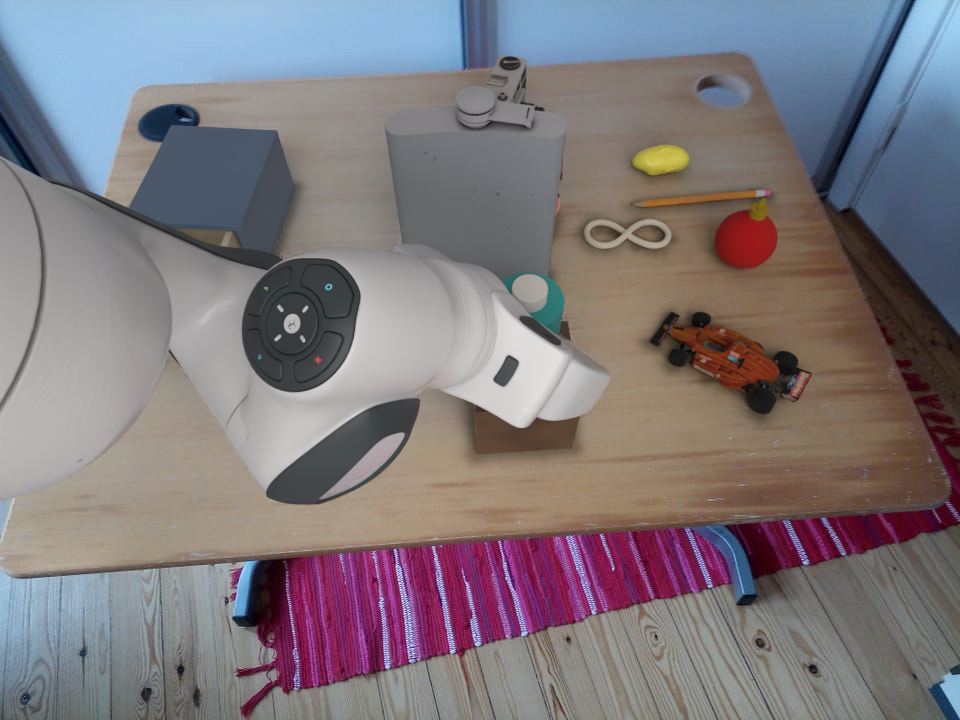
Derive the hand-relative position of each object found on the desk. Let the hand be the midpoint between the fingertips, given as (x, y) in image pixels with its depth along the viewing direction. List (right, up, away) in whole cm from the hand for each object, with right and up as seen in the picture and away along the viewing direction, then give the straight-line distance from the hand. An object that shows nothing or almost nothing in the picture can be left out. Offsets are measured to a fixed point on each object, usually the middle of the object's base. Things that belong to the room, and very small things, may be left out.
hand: (530, 323), depth 60 cm
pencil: (+25, +18, +30) cm, 43 cm away
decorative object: (+14, +13, +26) cm, 32 cm away
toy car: (+23, -4, +16) cm, 28 cm away
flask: (-5, +7, +23) cm, 25 cm away
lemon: (+20, +23, +33) cm, 45 cm away
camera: (0, +27, +36) cm, 45 cm away
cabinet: (-37, +14, +27) cm, 48 cm away
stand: (0, -9, +13) cm, 15 cm away
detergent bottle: (0, -4, +5) cm, 6 cm away
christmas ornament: (+28, +9, +24) cm, 38 cm away
